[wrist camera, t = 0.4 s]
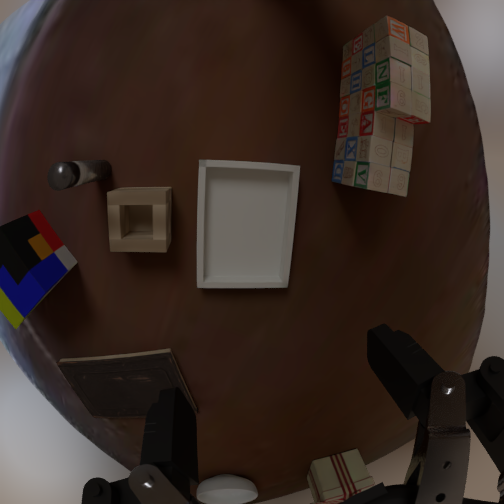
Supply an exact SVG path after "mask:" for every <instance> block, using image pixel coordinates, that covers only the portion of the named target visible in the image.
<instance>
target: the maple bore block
mask: <svg viewBox="0 0 504 504" xmlns="http://www.w3.org/2000/svg"><path fill="white" fill-rule="evenodd" d="M107 206H108V227H109V241H110V252H167V250H168V247H169V245H170V243H171V187H138V188H118V189H115V190H112V191H110V192H107Z"/></svg>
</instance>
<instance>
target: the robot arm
mask: <svg viewBox="0 0 504 504" xmlns="http://www.w3.org/2000/svg"><path fill="white" fill-rule="evenodd" d="M367 358H368V362H369V365H370V367H371V368H372V370H373V371H374V373H375V374H376V375H377V377H378V378H379V380H380V381H381V382H382V384H383V385H384V387H385V388H386V390H387V391H388V392H389V394H390V395H391V397H392V398H393V399H394V401H395V402H396V404H397V405H398V407H399V408H400V410H401V411H402V412H403V414H404V415H405V417H406V418H407V420H409V419H410V418H412V417H414V416H417V418H418V419H419V421H418V427H417V433H416V439H415V444H414V449H413V454H412V459H411V463H410V465H409V468H408V471H407V474H406V477H405V481H404V484H400V485H390V486H384V484H383V482H382V483H380V484H378V485H375V486H373V487H371V488H369V489H367V490H364V491H362V492H360V493H357V494H355V495H353V496H351V497H350V498H348V499H347V500H345V501H344V502H342V503H340V504H504V360H503V359H502V358H500V357H497V356H492V357H488V358H486V359H485V360H484V361H483V362H482V364H481V366H480V369H479V370H475V371H473V372H469V373H466V374H463V375H460V374H458V373H457V372H453V371H444V370H443V369H442V368H441V367H440V366H439V365H438V364H437V363H436V362H435V361H434V360H433V359H432V358H431V357H430V356H429V355H428V353H427V352H426V351H425V350H424V349H422V347H421V346H420V345H419V344H418V343H416V341H415V340H414V339H413V338H412V337H411V336H410V335H409V334H407V333H404V332H402V331H400V330H397V331H395V332H393V331H392V330H391V329H390V328H389V327H388V326H387V325H386V324H382V325H379V326H377V327H375V328H372V329H370V330H368V333H367ZM466 421H467V423H468V424H469V426H470V427H471V429H472V430H473V431H474V433H475V434H476V436H477V437H478V439H479V440H480V442H481V443H482V445H483V446H484V448H485V449H486V451H487V452H488V454H489V455H490V457H491V459H492V460H493V462H494V463H495V465H496V467H497V468H498V470H499V471H500V473H501V474H500V476H499V480H498V486H497V489H498V491H499V492H500V499H499V502H498V503H495V502H488V501H481V500H474V499H468V498H463V496H464V490H465V484H466V478H467V470H468V462H469V452H470V430H469V429H466V423H465V422H466ZM145 424H146V425H145V429H144V432H145V433H144V436H143V444H142V452H141V461H140V465H139V466H138V467H136V468H135V469H133V470H132V472H131V473H130V475H129V477H128V478H125V479H122V480H118V481H115V482H111V483H109V482H108V481H106V480H105V479H103V478H93V479H90V480H89V481H88V482H87V483H86V484H85V486H84V489H83V495H82V504H201V503H200V502H199V501H198V500H197V499H196V498H195V497H194V496H193V495H192V494H191V493H190V485H199V479H198V458H197V425H196V416H195V412H194V410H193V408H192V406H191V405H190V403H189V402H188V400H187V399H186V397H185V396H184V394H183V392H182V391H181V389H180V388H179V387H174V388H169V389H163V390H160V393H159V400H158V403H152V405H151V407H150V408H149V410H148V412H147V415H146V422H145Z"/></svg>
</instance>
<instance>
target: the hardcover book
mask: <svg viewBox="0 0 504 504" xmlns="http://www.w3.org/2000/svg"><path fill="white" fill-rule="evenodd" d="M56 363H57V365H58V366H59V368H60V370H61V371H62V373H63V374H64V376H65V378H66V379H67V381H68V382H69V384H70V385H71V387H72V388H73V390H74V391H75V393H76V394H77V396H78V397H79V398H80V400H81V401H82V403H83V404H84V405H85V407H86V408H87V409H88V411H89V412H90V413H91V415H92V416H93V417H94V418H146V415H147V412H148V410H149V408H150V407H151V405H152V403H158V400H159V393H160V390H163V389H169V388H174V387H179V388H180V389H181V391H182V392H183V394H184V396H185V397H186V399H187V400H188V402H189V403H190V405H191V406H192V408H193V410H194V412H195V413H198V407H197V408H196V406H195V404H194V402H193V400H192V397H191V395H190V393H189V391H188V389H187V386H186V384H185V382H184V380H183V377H182V375H181V373H180V370H179V368H178V366H177V363H176V361H175V358H174V356H173V354H172V351H171V349H164V350H156V351H149V352H140V353H131V354H122V355H111V356H99V357H86V358H68V359H61V360H60V362H56Z"/></svg>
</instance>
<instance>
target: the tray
mask: <svg viewBox="0 0 504 504" xmlns="http://www.w3.org/2000/svg"><path fill="white" fill-rule="evenodd" d="M299 174H300V166H295V165H285V164H274V163H260V162H245V161H224V160H199V180H198V210H197V288H288V280H289V272H290V264H291V255H292V246H293V237H294V228H295V218H296V208H297V197H298V186H299Z"/></svg>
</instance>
